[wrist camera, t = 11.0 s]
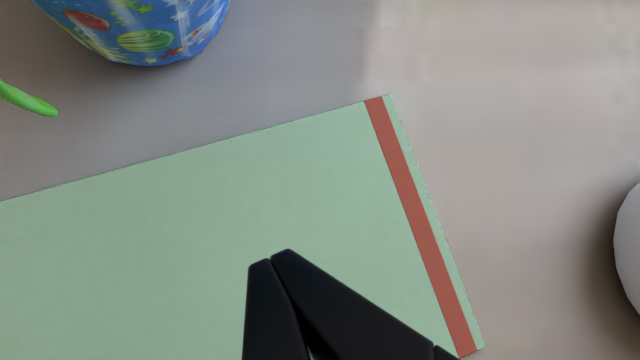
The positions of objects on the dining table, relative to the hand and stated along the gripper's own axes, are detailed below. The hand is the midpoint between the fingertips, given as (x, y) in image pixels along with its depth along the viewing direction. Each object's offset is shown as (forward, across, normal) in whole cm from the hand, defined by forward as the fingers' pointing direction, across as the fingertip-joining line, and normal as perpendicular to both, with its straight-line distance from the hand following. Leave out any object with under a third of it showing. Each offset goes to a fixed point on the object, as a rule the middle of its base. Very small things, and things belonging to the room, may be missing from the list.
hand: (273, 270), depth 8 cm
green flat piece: (+7, +3, +8) cm, 11 cm away
